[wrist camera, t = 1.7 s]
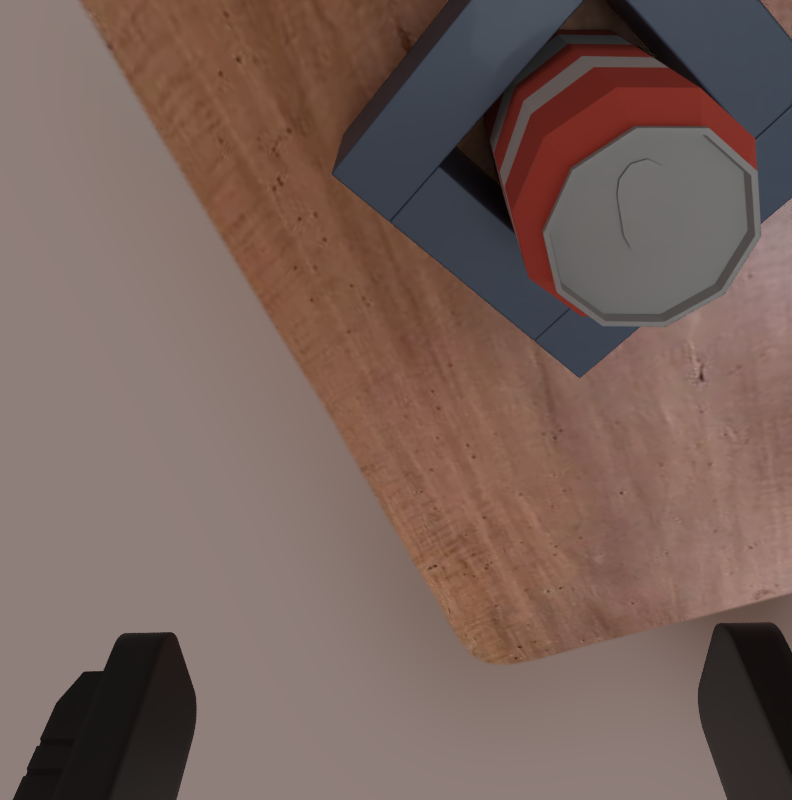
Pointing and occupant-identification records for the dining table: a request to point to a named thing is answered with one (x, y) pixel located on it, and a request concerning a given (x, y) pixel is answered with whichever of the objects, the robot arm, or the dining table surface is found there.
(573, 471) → the dining table surface
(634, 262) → the beverage can
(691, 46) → the holder
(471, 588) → the dining table surface
